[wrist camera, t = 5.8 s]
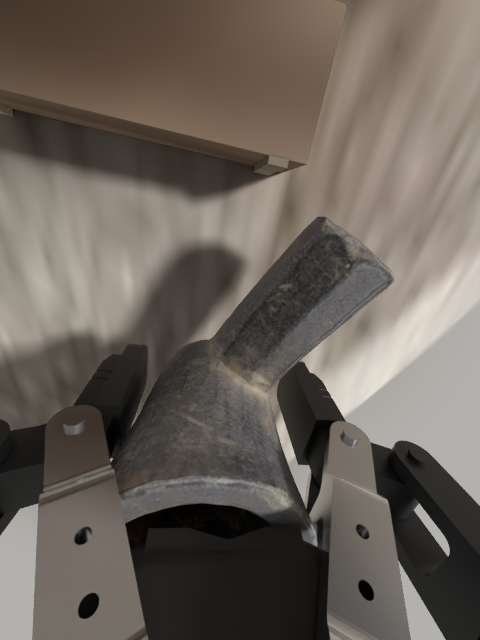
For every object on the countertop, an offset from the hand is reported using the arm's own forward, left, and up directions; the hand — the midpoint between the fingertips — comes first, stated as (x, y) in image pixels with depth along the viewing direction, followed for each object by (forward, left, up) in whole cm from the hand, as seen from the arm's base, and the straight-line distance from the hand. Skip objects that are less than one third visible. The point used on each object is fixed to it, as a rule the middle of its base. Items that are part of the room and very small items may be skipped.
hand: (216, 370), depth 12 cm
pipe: (-1, 0, -2) cm, 2 cm away
